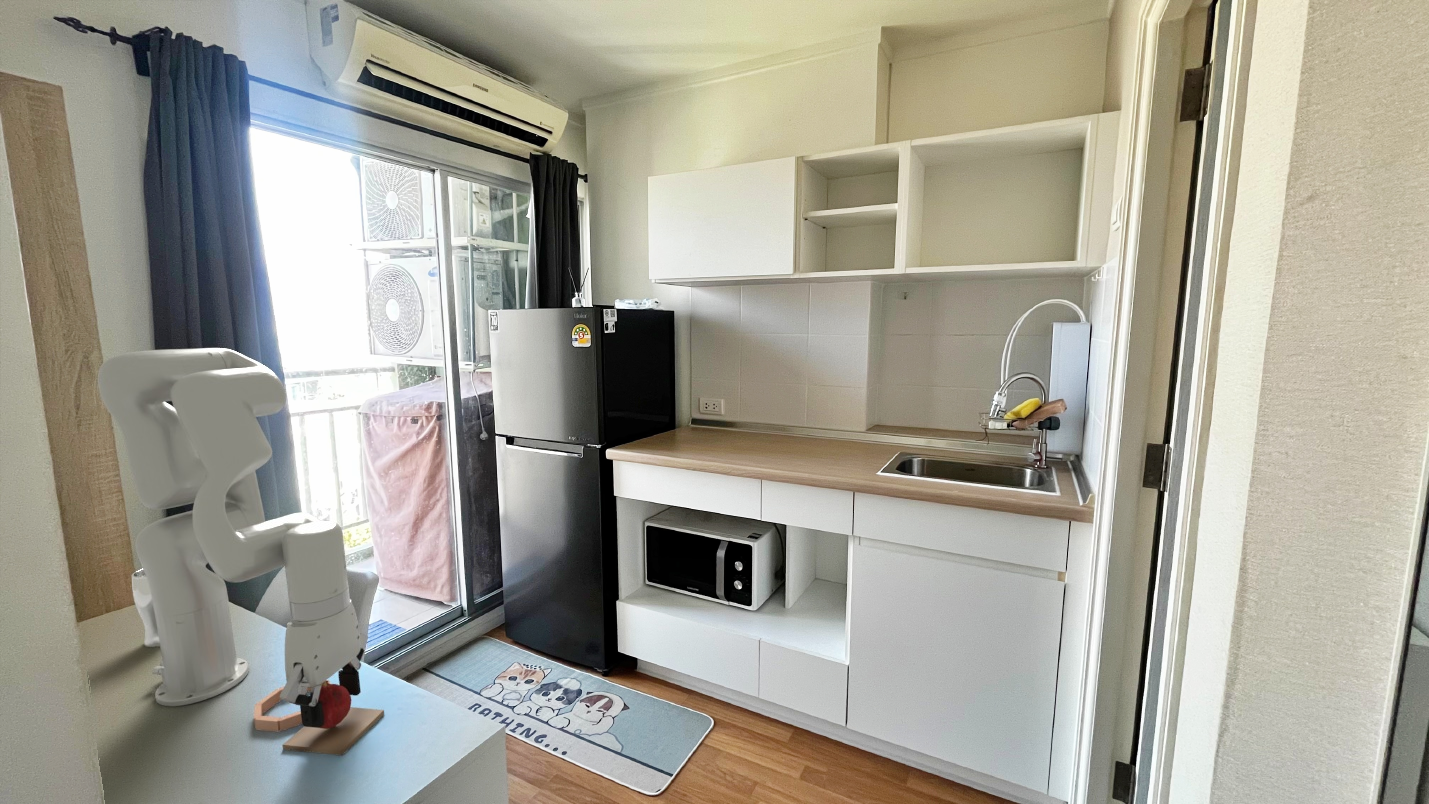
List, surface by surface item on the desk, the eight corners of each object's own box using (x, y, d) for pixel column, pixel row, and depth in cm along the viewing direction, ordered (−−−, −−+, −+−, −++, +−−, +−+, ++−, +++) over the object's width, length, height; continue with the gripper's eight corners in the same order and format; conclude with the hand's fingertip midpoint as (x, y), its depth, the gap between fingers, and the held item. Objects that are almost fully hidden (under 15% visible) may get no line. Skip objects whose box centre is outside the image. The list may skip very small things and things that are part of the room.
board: (282, 749, 87) (282, 744, 87) (329, 709, 96) (329, 705, 96) (342, 755, 86) (341, 750, 85) (384, 714, 94) (383, 709, 94)
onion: (362, 719, 92) (355, 675, 90) (326, 745, 87) (317, 699, 85) (340, 709, 94) (332, 666, 93) (302, 734, 89) (293, 688, 88)
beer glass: (183, 626, 122) (173, 560, 120) (192, 636, 118) (181, 568, 116) (138, 641, 117) (126, 572, 115) (145, 652, 113) (134, 581, 110)
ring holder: (238, 727, 92) (237, 717, 91) (293, 686, 102) (292, 677, 101) (296, 733, 90) (295, 723, 90) (346, 691, 100) (345, 681, 100)
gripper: (342, 576, 96) (352, 673, 99) (246, 632, 79) (261, 747, 82) (382, 579, 95) (392, 677, 98) (294, 635, 78) (308, 752, 81)
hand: (332, 708), depth 90 cm, fingers open, 6 cm apart
